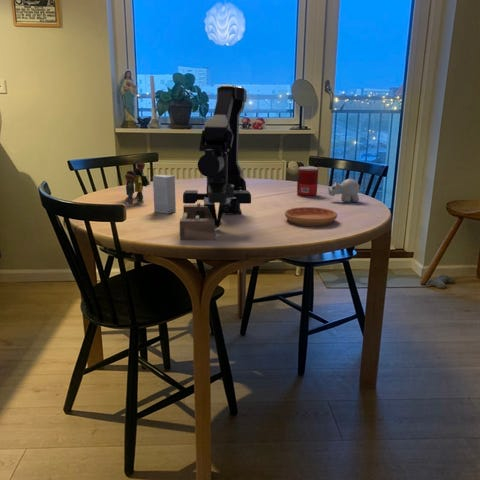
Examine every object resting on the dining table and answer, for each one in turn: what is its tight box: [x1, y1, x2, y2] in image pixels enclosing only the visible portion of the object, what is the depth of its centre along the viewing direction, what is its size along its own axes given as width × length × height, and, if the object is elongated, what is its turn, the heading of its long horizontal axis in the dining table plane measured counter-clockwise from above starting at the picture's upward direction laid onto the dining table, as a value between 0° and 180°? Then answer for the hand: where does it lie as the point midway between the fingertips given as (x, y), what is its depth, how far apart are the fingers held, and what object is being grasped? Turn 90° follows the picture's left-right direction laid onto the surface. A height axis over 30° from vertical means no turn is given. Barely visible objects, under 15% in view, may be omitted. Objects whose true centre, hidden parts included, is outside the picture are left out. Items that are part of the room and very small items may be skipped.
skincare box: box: [152, 174, 177, 215], centre depth 149 cm, size 6×4×12 cm
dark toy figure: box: [124, 161, 151, 207], centre depth 166 cm, size 23×9×13 cm, turn 18°
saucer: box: [284, 206, 338, 227], centre depth 141 cm, size 16×16×3 cm
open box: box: [179, 201, 216, 241], centre depth 128 cm, size 21×9×6 cm, turn 4°
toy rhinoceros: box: [327, 178, 360, 203], centre depth 171 cm, size 7×12×8 cm, turn 95°
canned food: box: [296, 166, 319, 197], centre depth 182 cm, size 8×8×11 cm
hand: (217, 226), depth 129 cm, fingers closed
